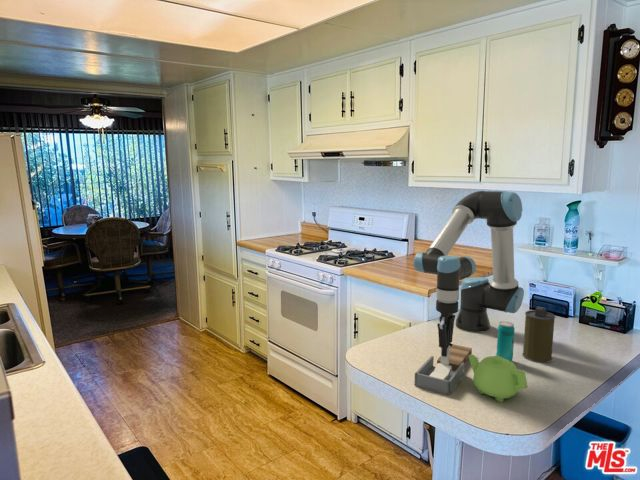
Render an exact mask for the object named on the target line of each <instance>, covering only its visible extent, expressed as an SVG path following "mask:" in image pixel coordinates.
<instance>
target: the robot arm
mask: <svg viewBox="0 0 640 480" xmlns="http://www.w3.org/2000/svg"><path fill="white" fill-rule="evenodd" d="M522 202H523V201H522V199H521V197H520V196H519V195H518V193H516V192H514V191H505V190H504V191H497V190H496V191H495V190H494V191H491V190H490V191H489V190H478V191H474V192H471V193H469V194H467V195H466V196H464V197H463V198H461V200H459V201H457V203H456V204H455V206H454V207H453V208H452V210H451V215H450V217H449V218H448V219H447V222H446V223H445V224H444V225H443V227H442V228H441V230H440V231H439V232H438V234H437V236H436V237H435V239H434V240H433V241H432V243H431V244H430V245H429V247H428V248H427V250H426V251H425V252H423V251H422V252H418V253H416V254H415V255H414V258H413V268H414V270H415V271H417V272H419V273H420V272H421V273H423V274H428V275H429V274H431V275H436V289H435V290H434V292H435V293H436V296H435V297H436V301H435V310H436V311H437V312H439V313H440V316H439V319H438V320H439V323H437V330H438V331H437V332H438V347H439V348H440V356H441V364H445V365H449V359H450V346H452V345H453V344H454V343H452V342H453V336H454V335H453V334H454V327H455V326H456V328H457V329H459V330H462V331H464V332H465V331H466V332H471V333H485V332H488V331H489V330H491V329H490V328H491V322H490V319H489V316H488V311H487V310H494V311H498V312H502V313H503V312H504V313H509V314H515V313H517V312H519V310H520V309H521V306H522V304H523V300H524V297H525V290H524V288H523V287H521V286H519V281H518V280H517V279H516V278H515V250H514V246H515V245H514V244H515V243H514V228H515V226H516V225H517V224H518V222H519V221H520V220H521V218H522V216H523V203H522ZM477 219H481V220H482V219H483V220H486V225H487V226H488V227H489V228H490V232H491V233H490V235H491V236H490V238H491V259H492V264H491V266H492V279H491V280H489V278H488V277H484V276H473V277H471V276H472V275H474V274H475V272H476V270H477V265H476V261H475V260H474V258H471V257H470V256H460V257H459V256H456V255H449V254H450V251H451V252H452V249H453V248H454V246H455V245H456V243H457V242H458V241H459V239H460V237H461V235H462V234H463V232H464V231H465V230H466V229H467V226H468V225H469V224H472V223H473V222H474V220H477ZM461 280H462V281H461ZM460 281H461V285H460ZM459 299H460V301H459ZM459 302H460V305H459ZM459 307H460V308H459ZM456 313H458V314H457V316H456ZM454 325H455V326H454Z"/></svg>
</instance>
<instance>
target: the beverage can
mask: <svg viewBox="0 0 640 480" xmlns="http://www.w3.org/2000/svg"><path fill="white" fill-rule="evenodd" d="M514 326H515V324H514V323H512V322H510V321H500V322H499V323H498V326H497V340H496V341H497V342H496V356H500V357H502V358H504V359H506V360H509V361H511V362H512V361H513V359H514V343H515V327H514Z"/></svg>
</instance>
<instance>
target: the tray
mask: <svg viewBox="0 0 640 480" xmlns="http://www.w3.org/2000/svg"><path fill="white" fill-rule="evenodd" d="M434 358H435V357H434V355H431V356H430V357H429V358H428V359H427V360H426V361H425V362H424V363H423V364H422V365H421V366H420V368H418V369H417V370H416V371H415V373H414V386H415V387H419V388H422V389H425V390H430V391H433V392H436V393H441V394H444V395H449V396H450V395H451V393H452V392H453V390H454V389H455V388H456V386H457V385H458V384H459V382H460V381H461V380H462V378H463V376H464V375H465V365H464V363H461V365H460V366H459V367H458V369H457V370H456V371H452V372H451V374H450V376H449V378H448V380H443V379H439V378H435V377H431V376H429V375H430V374H431V373H432V372H434V370H435V368H436V366H434Z"/></svg>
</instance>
